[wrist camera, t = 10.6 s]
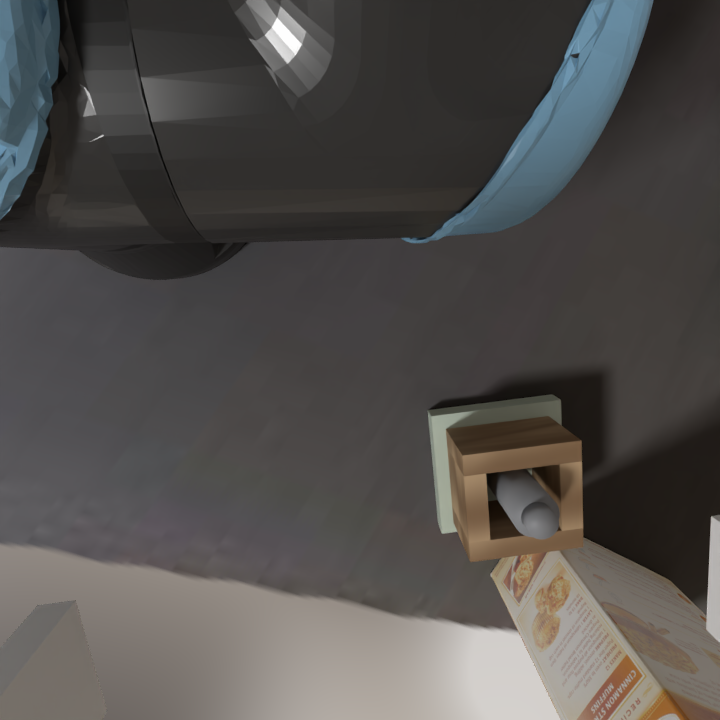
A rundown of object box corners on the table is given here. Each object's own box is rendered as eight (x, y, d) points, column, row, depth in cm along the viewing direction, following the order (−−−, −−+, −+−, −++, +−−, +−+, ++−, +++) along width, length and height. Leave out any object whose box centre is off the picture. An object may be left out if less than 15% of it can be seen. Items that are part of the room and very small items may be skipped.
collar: (445, 429, 36) (462, 455, 31) (548, 415, 36) (581, 440, 31) (453, 522, 37) (470, 562, 32) (551, 510, 37) (583, 547, 33)
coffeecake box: (487, 575, 40) (619, 857, 21) (531, 508, 39) (712, 743, 20) (626, 640, 42) (861, 952, 23) (672, 578, 41) (959, 853, 22)
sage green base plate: (427, 410, 37) (457, 460, 28) (552, 394, 37) (622, 438, 28) (438, 523, 39) (468, 605, 30) (556, 508, 39) (622, 584, 30)
